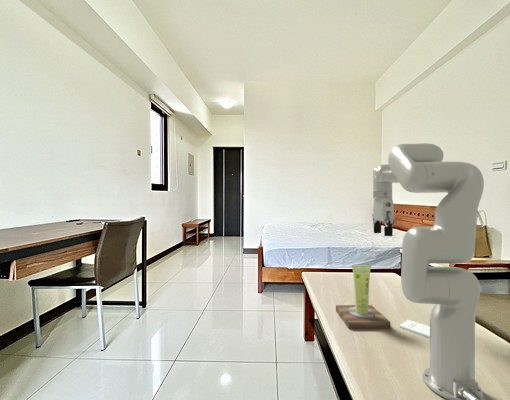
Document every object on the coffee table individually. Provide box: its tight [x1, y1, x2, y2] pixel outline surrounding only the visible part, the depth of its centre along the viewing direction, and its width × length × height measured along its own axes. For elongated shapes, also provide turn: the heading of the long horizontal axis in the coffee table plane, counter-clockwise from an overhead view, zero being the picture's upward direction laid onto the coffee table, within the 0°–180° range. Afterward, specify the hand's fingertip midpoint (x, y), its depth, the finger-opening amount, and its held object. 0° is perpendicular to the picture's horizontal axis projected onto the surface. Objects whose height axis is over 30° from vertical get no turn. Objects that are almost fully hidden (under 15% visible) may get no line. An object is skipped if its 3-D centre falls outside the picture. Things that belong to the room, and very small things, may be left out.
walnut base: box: [335, 304, 391, 330], centre depth 108 cm, size 16×16×3 cm
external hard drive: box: [399, 319, 430, 339], centre depth 98 cm, size 2×8×12 cm
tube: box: [351, 264, 372, 314], centre depth 107 cm, size 6×5×20 cm
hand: (382, 234), depth 114 cm, fingers open, 9 cm apart
